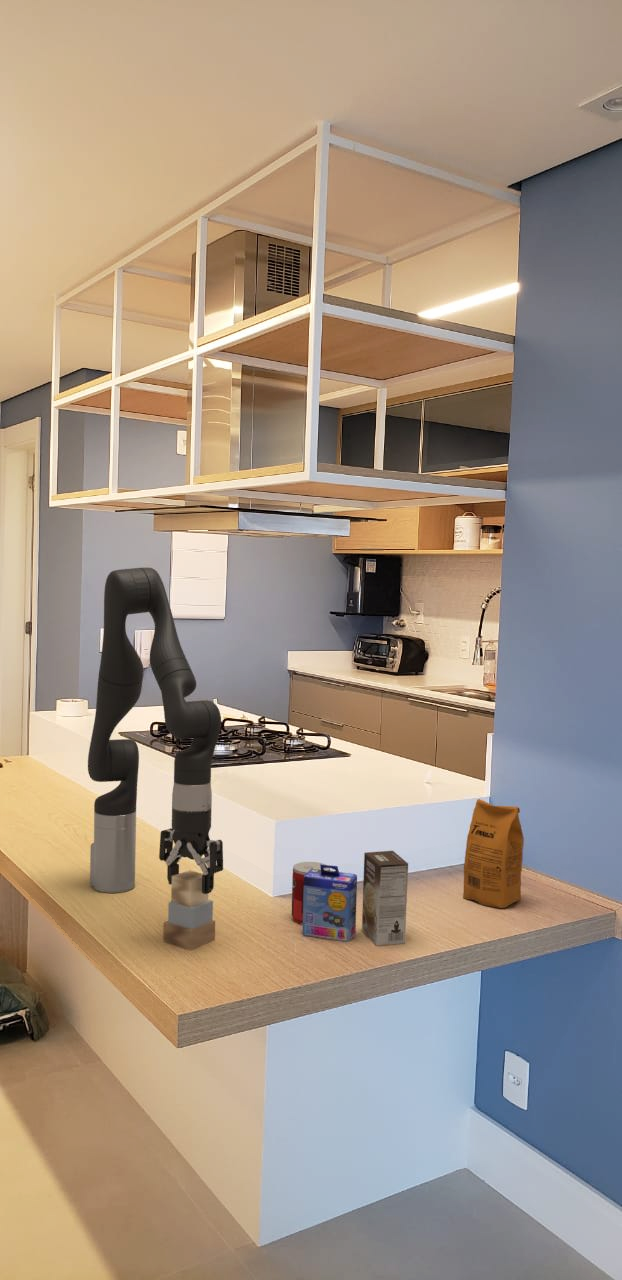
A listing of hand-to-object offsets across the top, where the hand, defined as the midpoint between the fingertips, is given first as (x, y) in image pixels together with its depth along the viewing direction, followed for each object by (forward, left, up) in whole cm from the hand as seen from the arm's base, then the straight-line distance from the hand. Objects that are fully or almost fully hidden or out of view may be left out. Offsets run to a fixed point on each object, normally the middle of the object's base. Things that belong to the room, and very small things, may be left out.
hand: (190, 888), depth 191 cm
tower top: (0, 0, -7) cm, 7 cm away
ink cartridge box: (+19, +20, -11) cm, 30 cm away
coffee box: (+28, +26, -10) cm, 40 cm away
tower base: (0, 0, -11) cm, 11 cm away
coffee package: (+35, +61, -10) cm, 71 cm away
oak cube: (0, 0, -3) cm, 3 cm away
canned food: (+11, +25, -10) cm, 29 cm away
